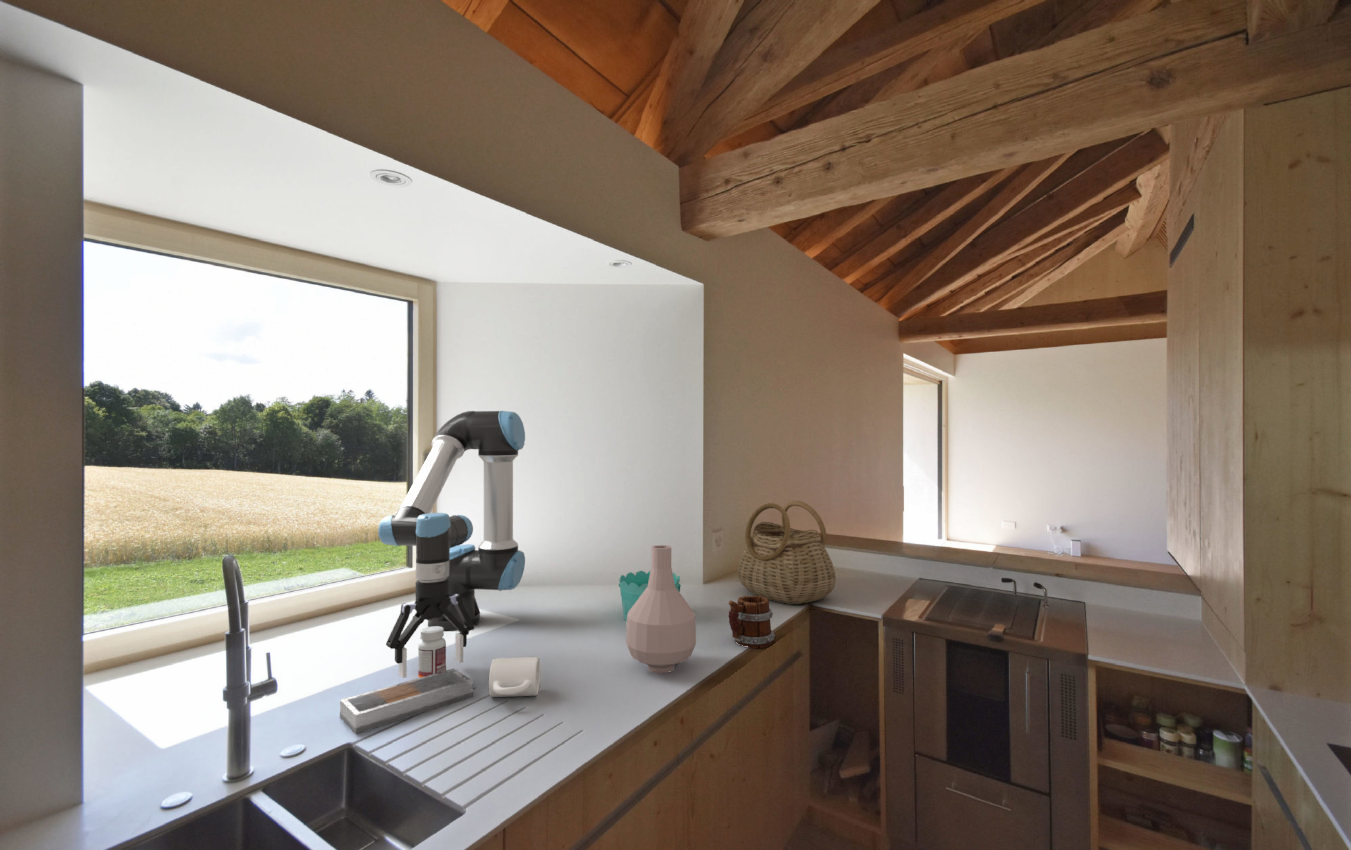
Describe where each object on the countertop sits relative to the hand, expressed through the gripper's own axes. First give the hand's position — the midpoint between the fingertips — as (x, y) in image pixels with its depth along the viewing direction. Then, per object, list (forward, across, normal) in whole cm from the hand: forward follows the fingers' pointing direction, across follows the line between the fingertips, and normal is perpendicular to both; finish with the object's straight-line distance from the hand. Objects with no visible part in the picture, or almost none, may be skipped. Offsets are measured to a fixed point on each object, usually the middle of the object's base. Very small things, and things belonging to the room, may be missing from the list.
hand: (431, 668), depth 146 cm
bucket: (+2, +69, -1) cm, 69 cm away
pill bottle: (+2, 0, 0) cm, 2 cm away
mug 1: (+2, +8, -24) cm, 25 cm away
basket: (+2, +121, -16) cm, 122 cm away
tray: (+2, -10, -12) cm, 16 cm away
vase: (+2, +43, -34) cm, 55 cm away
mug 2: (+2, +73, -38) cm, 82 cm away
